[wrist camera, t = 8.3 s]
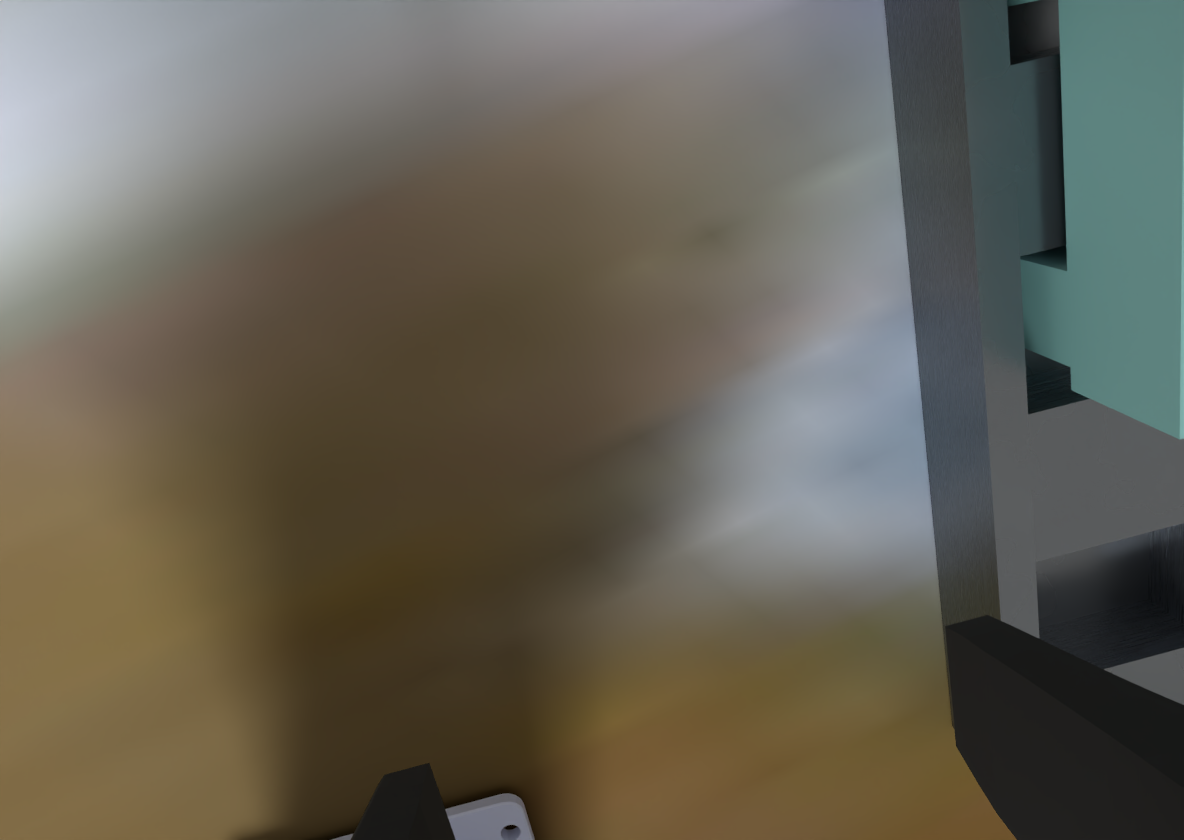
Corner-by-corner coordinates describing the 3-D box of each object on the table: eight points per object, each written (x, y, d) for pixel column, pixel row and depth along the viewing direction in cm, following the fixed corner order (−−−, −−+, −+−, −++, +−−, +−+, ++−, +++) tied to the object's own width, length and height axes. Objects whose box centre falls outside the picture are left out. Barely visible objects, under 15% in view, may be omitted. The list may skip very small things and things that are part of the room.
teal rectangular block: (1120, 331, 21) (1329, 400, 16) (1005, 360, 21) (1179, 438, 16) (1113, -159, 17) (1377, -271, 12) (977, -128, 17) (1186, -229, 12)
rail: (1153, 672, 25) (1238, 741, 23) (952, 726, 25) (1013, 803, 22) (1153, -349, 17) (1286, -439, 15) (857, -286, 17) (934, -366, 14)
